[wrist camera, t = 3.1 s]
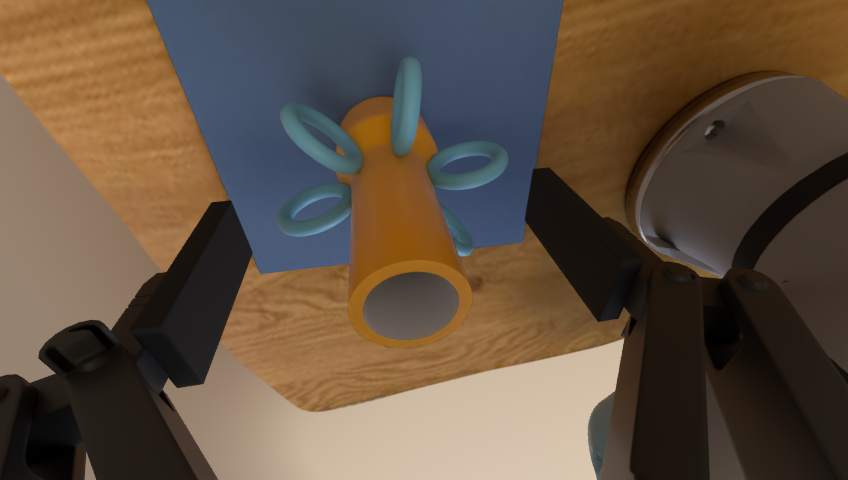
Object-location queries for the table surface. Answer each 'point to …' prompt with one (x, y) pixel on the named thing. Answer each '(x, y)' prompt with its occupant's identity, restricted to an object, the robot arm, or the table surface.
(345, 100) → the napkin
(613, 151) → the table surface
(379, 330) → the cylinder
